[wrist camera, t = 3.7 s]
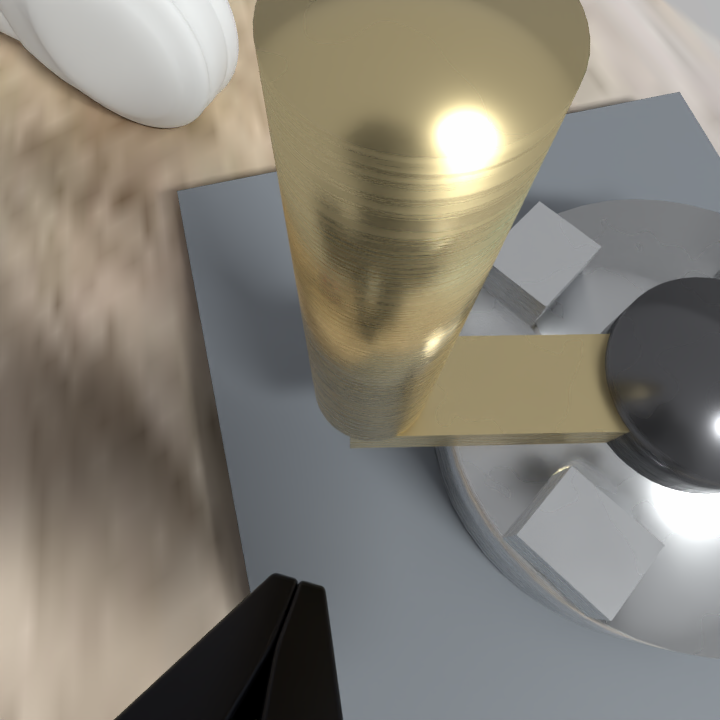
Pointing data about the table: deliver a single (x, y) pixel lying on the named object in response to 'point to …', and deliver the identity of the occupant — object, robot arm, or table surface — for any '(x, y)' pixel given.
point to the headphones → (132, 51)
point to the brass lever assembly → (503, 301)
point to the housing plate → (421, 470)
